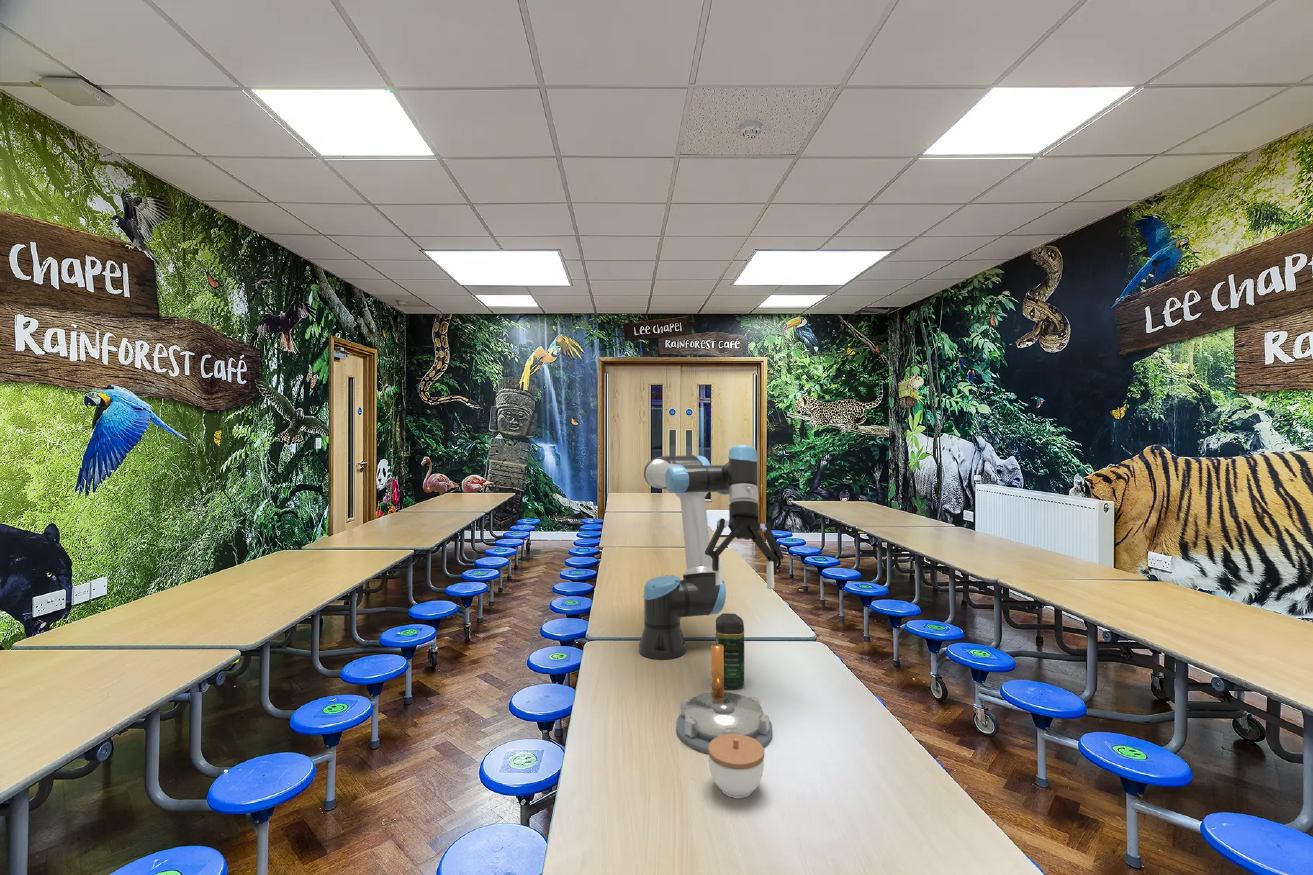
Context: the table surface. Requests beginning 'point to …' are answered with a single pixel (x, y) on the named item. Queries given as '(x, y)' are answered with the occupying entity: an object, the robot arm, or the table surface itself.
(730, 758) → the lidded jar
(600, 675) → the table surface
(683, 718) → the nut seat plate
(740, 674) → the coffee jar
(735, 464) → the robot arm
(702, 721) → the lugged metal dome
